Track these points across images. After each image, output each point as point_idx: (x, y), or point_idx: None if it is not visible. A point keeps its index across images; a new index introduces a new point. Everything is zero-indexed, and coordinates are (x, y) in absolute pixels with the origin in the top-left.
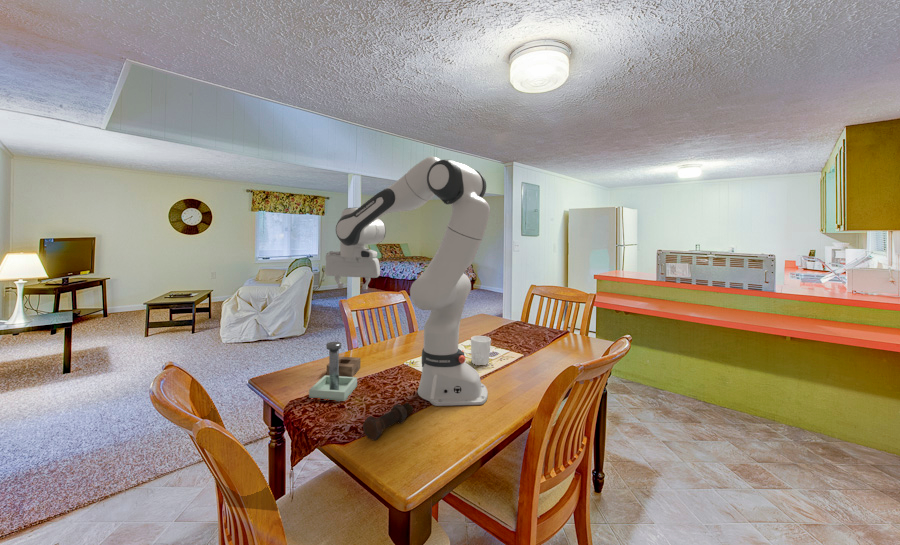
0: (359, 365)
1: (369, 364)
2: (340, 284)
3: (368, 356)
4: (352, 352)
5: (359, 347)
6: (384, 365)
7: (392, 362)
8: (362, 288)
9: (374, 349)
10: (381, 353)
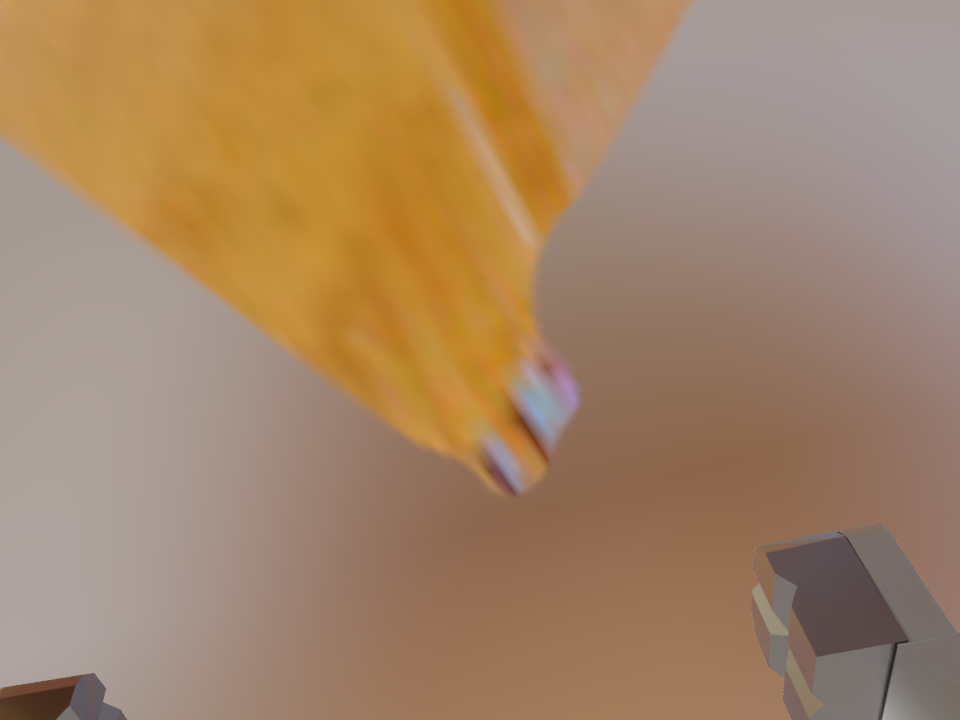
0: None
1: (214, 41)
2: (845, 630)
3: (342, 219)
4: (528, 255)
5: (529, 370)
6: (63, 67)
7: (46, 162)
8: (73, 684)
9: (386, 373)
10: (276, 317)
